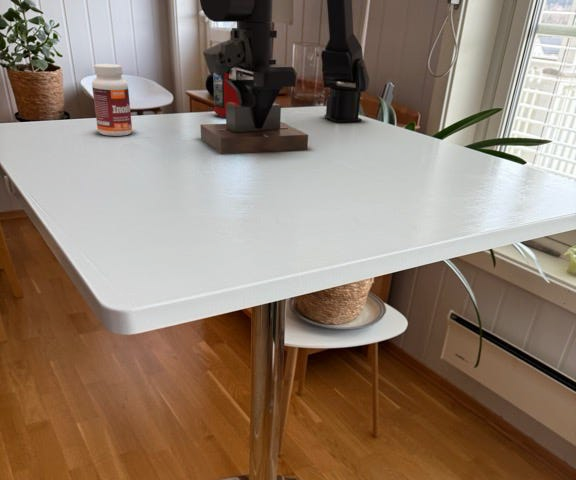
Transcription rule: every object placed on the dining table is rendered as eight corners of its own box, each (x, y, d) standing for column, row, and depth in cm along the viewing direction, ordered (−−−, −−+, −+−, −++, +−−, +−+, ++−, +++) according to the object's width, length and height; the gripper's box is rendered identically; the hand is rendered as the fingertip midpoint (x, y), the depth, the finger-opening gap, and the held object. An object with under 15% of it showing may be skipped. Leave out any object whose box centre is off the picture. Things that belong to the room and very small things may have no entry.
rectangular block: (270, 125, 103) (271, 100, 101) (280, 129, 101) (281, 103, 98) (226, 128, 99) (225, 102, 97) (235, 132, 97) (235, 105, 94)
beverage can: (215, 112, 127) (213, 51, 120) (245, 114, 127) (245, 52, 120) (213, 118, 121) (211, 53, 114) (244, 119, 122) (244, 55, 115)
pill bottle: (118, 138, 101) (110, 68, 95) (90, 133, 103) (81, 64, 96) (139, 132, 106) (133, 65, 99) (112, 128, 107) (104, 62, 101)
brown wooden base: (279, 135, 109) (280, 120, 108) (308, 150, 99) (309, 134, 98) (200, 138, 104) (199, 122, 102) (222, 154, 94) (221, 137, 92)
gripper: (185, 17, 94) (190, 119, 103) (236, 24, 81) (237, 140, 90) (244, 19, 99) (244, 116, 108) (301, 26, 86) (296, 135, 95)
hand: (253, 126), depth 100 cm, fingers closed on rectangular block, 4 cm apart
